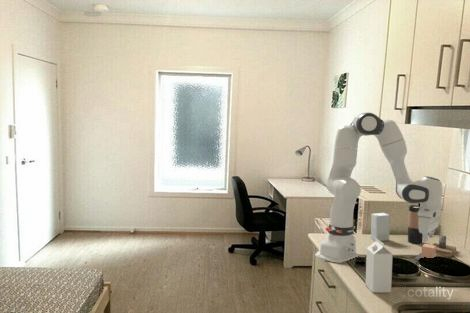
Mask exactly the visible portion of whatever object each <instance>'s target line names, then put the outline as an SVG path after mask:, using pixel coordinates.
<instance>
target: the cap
mask: <svg viewBox="0 0 470 313" xmlns="http://www.w3.org/2000/svg"><path fill="white" fill-rule="evenodd" d="M421 253H422V256H421V258H424V257H426V258H434V257H436V256H437V254H436V246H434V245H433V244H427V243H424V244H423V245H421Z"/></svg>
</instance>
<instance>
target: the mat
mask: <svg viewBox="0 0 470 313" xmlns="http://www.w3.org/2000/svg"><path fill="white" fill-rule="evenodd" d="M421 256H422V252H421V253H419V254H418V255H416V256H415V257H414V258H413V260H416V261H418V260H419V259H420V258H421Z"/></svg>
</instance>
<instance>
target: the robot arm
mask: <svg viewBox="0 0 470 313" xmlns="http://www.w3.org/2000/svg"><path fill="white" fill-rule="evenodd" d="M362 136H367V137H368V136H374V137H376V139H377V141H378V143H379V147H380V149H381V151H382V153H383V155H384V157H385V159H386V160H387V162H388V163H389V165H390V168H391V170H392V173H393V176H394V179H395V192H396V195H397V196H398V197H399V198H400V200H401V199H402V200H403V201H405V202H406V203H409V204H419V206H420V209H419V211H418V216H419V221H418V228H419V232H420V233H422V235H423V240H422V242H426V243H427V242H428V241H429V238H434V236H435V231H436V229H437V228H438V227H439V224H440V217H441V214H442V202H441V201H442V198H443V182H442V181H441V180H440V179H438V178H435V177H433V176H426V175H425V176H423V177H422V178H420V179H418V180H415V181H413V180H411V178H410V176H409V173H408V170H407V167H406V164H405V157H406V155H407V154H408V149H407V144H406V140H405V138H404V135H403V133H402V131H401V129H400V127H399V126H398V124H397V123H396V121H395V120H393V119H384V120H383V119H381V118H380V117H379V116H378V115H377V114H375V113H374V112H373V113H372V112H362V113H359V114H358V115H356V116H355V117H354V119H353V120H352V122H351V123H350V124H349V125H348V124H347V125H342V126H340V127H339V128H338V129H337V132H336V135H335V139H334V148H333V158H332V165H331V168H330V171H329V175H328V177H327V179H326V181H325V187H326V189H327V190H328V192H329V193H330V194H332V195H333V196H334V199H333V201H332V202H333V203H332V206H331V207H330V212H329V224H328V226H326V227H325V231H326V232H327V234H326V235H325V237H324V238H323V239H322V242H321V243H320V247H319V250H318V251H317V252H315V254H314V257H316V258H317V259H320V260H322V261H327V262H332V263H337V264H341V263H344V262H348V261H351V260H353V258H354V259H356V258H355V257H357V258H359V257H360V255H359V253H357V239H356V238H355V236H354V233H355V232H354V230H355V228H354V212H355V210H354V209H355V205H356V202H357V199H358V198H359V197H360V195H361V192H362V191H361V190H362V188H361V185H360V184H359V183H358V182H357V181H356V179H354V178H352V173H353V170H354V168H355V167H356V165H357V159H358V158H357V157H358V148H359V140H360V138H361V137H362ZM358 256H359V257H358ZM350 259H351V260H350Z"/></svg>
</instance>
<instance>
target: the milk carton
mask: <svg viewBox="0 0 470 313" xmlns="http://www.w3.org/2000/svg"><path fill="white" fill-rule="evenodd" d="M365 259H366V260H365V261H366V262H365V264H366V265H365V266H366V267H365V286H366V287H367V288H368V289H369V291H371V292H372V293H377V294H378V293H392V282H393V280H392V277H393V276H392V273H393V253H392V252H390V251H389V250H388V249H387V248H386V247H385V244H384V243H383V241H379V240H378V239H376V241H375V240H374V242H373V243H371V244H370V245H369V246H367V247H366V258H365Z"/></svg>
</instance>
